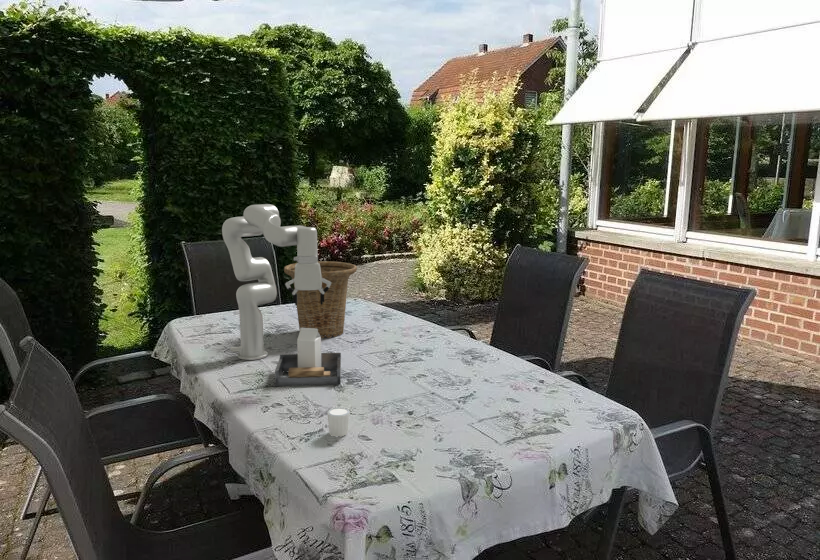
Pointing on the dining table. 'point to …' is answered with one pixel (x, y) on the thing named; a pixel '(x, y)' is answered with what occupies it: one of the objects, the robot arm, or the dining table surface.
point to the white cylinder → (338, 421)
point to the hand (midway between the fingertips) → (309, 304)
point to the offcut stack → (308, 372)
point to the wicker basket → (333, 308)
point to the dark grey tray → (291, 361)
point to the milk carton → (309, 348)
